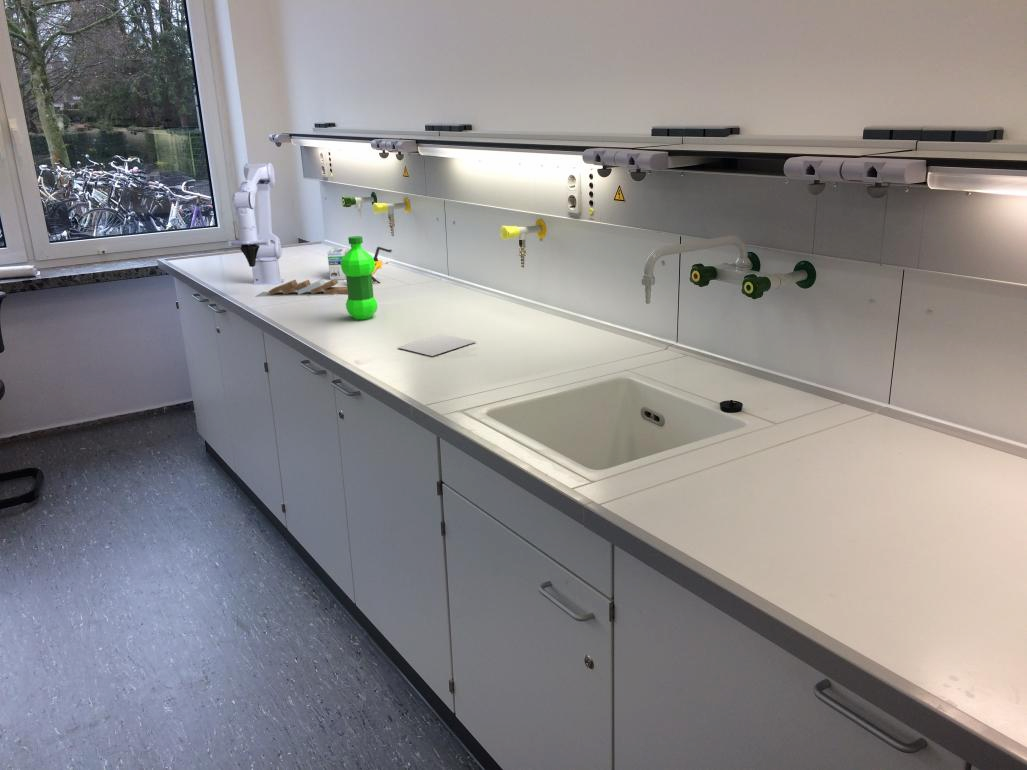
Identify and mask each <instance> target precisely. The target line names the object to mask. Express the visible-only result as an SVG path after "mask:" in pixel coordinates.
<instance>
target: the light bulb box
mask: <svg viewBox="0 0 1027 770" xmlns="http://www.w3.org/2000/svg"><path fill="white" fill-rule="evenodd" d="M349 250H350V249H349V247H331V248H330V249H329V250H328V251H327V260H328V262H327V263H328V269H329V279H330V280H329V281H331V280H334V279H336V278H337V280H338V281H339V280H340V281H344V280H345V281H346V276H345V274H344V273H343V271H342V268H341V259H342V257H343V256H344V255H345V254H346V253H347V252H348V251H349Z"/></svg>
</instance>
